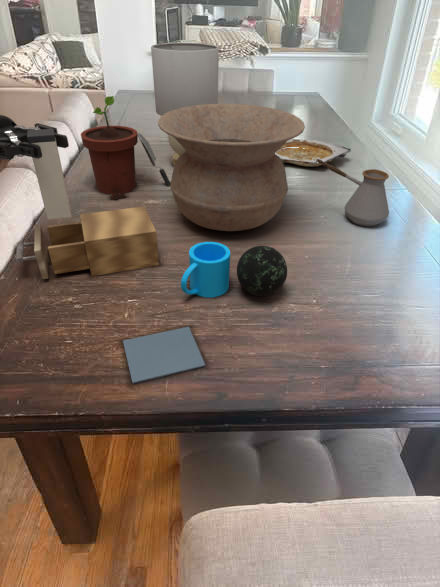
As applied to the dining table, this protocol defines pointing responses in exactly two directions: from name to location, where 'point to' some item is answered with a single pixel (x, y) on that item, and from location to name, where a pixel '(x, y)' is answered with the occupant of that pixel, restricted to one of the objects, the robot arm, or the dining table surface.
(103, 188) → the potted plant
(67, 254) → the drawer
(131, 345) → the mat
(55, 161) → the black-capped tall post
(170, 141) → the lamp
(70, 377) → the dining table surface
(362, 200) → the coffee pot
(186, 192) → the pot
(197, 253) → the mug
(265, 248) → the decorative stone
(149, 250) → the cabinet
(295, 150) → the pizza
